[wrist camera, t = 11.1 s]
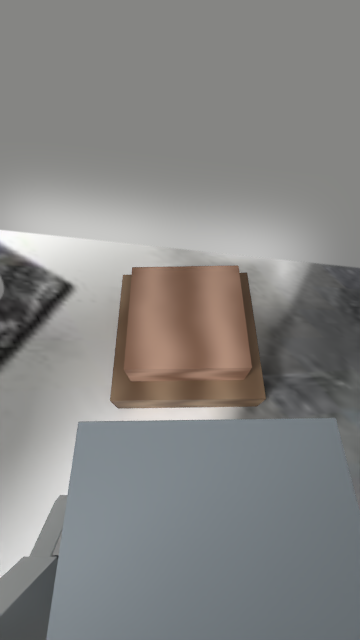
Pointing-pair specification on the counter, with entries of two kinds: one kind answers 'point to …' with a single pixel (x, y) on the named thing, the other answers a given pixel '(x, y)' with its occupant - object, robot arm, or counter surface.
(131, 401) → the plinth
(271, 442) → the slate brick
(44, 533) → the robot arm
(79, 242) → the counter surface
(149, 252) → the counter surface
